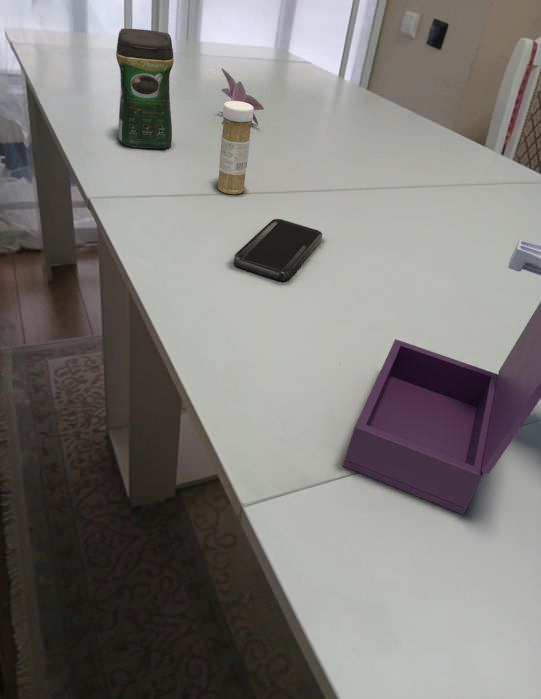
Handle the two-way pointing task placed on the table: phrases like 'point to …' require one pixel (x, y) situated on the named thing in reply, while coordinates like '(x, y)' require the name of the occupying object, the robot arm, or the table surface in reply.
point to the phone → (278, 249)
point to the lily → (240, 94)
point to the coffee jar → (145, 88)
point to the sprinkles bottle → (234, 146)
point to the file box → (425, 426)
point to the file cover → (515, 391)
